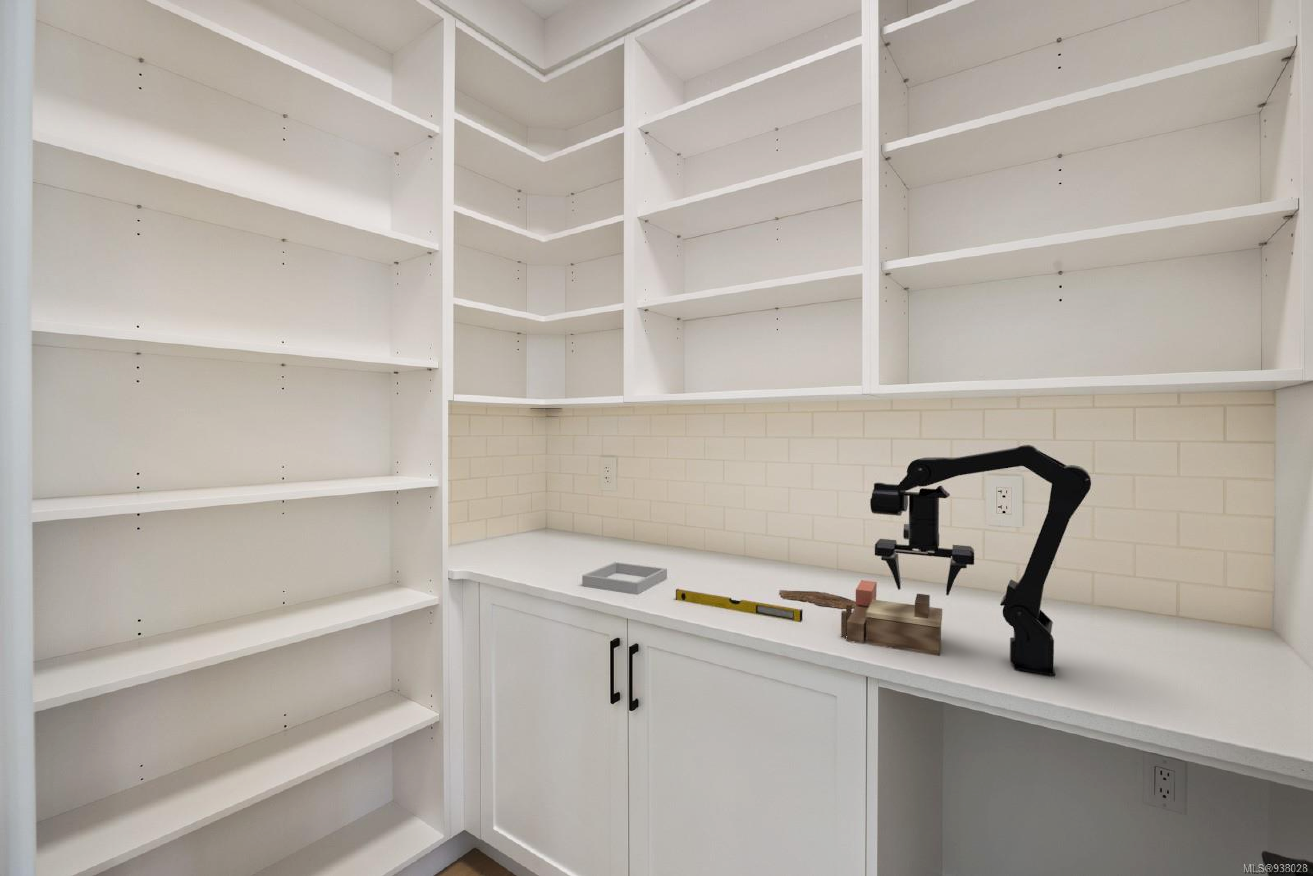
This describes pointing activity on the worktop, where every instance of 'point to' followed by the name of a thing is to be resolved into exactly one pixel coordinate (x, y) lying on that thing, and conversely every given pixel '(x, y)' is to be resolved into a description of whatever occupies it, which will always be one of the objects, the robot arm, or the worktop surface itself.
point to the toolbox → (889, 632)
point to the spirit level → (740, 605)
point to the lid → (907, 611)
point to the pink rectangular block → (866, 592)
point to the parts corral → (599, 581)
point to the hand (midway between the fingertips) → (922, 592)
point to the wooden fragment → (818, 598)
